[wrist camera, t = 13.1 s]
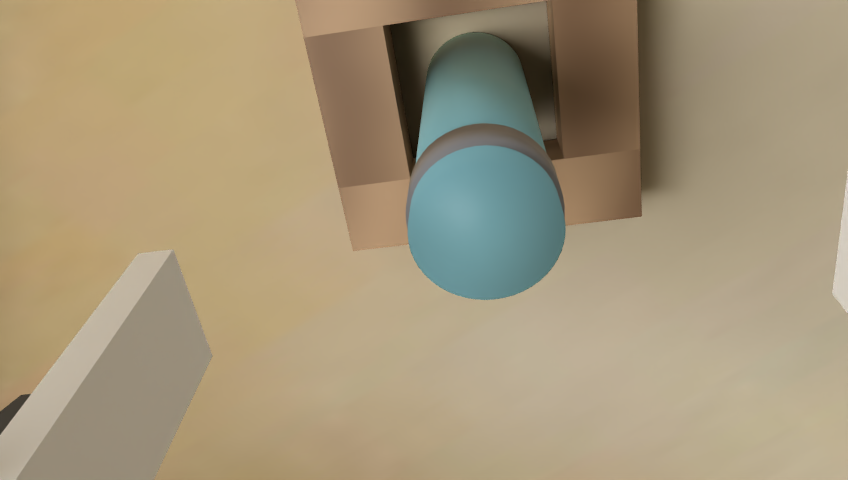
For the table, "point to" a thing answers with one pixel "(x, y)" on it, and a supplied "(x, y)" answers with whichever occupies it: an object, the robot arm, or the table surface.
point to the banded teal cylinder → (482, 176)
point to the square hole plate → (387, 127)
